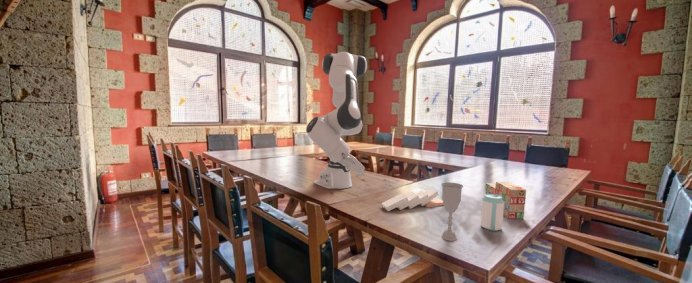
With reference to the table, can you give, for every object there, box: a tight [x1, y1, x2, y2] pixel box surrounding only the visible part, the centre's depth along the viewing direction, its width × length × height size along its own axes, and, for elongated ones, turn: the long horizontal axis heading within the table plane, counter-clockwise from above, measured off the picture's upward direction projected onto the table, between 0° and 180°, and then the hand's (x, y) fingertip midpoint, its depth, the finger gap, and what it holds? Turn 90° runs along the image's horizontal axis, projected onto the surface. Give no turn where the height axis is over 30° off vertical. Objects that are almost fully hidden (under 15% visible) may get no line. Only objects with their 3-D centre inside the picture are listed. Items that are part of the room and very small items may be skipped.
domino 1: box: [381, 193, 408, 212], centre depth 127 cm, size 2×6×10 cm
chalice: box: [440, 182, 464, 242], centre depth 98 cm, size 7×7×18 cm
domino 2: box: [396, 191, 420, 211], centre depth 129 cm, size 2×6×10 cm
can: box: [480, 194, 504, 232], centre depth 108 cm, size 7×7×12 cm
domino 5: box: [424, 198, 444, 208], centre depth 134 cm, size 2×6×10 cm
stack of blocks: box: [484, 181, 527, 220], centre depth 128 cm, size 21×6×12 cm, turn 179°
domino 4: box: [417, 188, 439, 207], centre depth 134 cm, size 2×6×10 cm
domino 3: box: [406, 190, 429, 210], centre depth 131 cm, size 2×6×10 cm
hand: (361, 174), depth 121 cm, fingers closed
